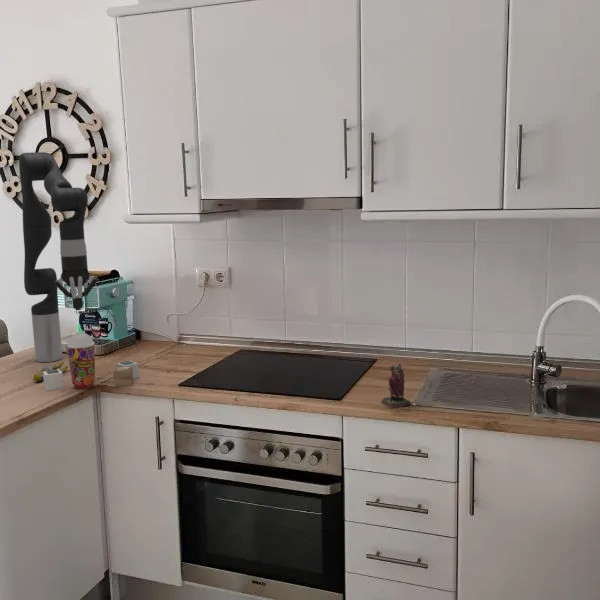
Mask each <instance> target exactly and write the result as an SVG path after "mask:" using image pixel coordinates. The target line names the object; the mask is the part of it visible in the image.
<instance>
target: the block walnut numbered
mask: <svg viewBox="0 0 600 600" xmlns="http://www.w3.org/2000/svg"><path fill="white" fill-rule="evenodd" d="M113 380H114V381H113V382H114V388H121V387H122V388H124V387H132V386H133V383H134V379H133V370H132V367H119V368H117V367H116V368H115V369H114V371H113Z"/></svg>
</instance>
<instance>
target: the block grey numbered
mask: <svg viewBox="0 0 600 600" xmlns="http://www.w3.org/2000/svg"><path fill="white" fill-rule="evenodd" d="M115 365H116V366H115V367H116V368H119V367H132V370H133V380H135V379H139V378H140V377H139V363H138V362H136V361H133V360H126V361H121V362H117V363H116V364H115Z"/></svg>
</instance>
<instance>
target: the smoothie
mask: <svg viewBox="0 0 600 600" xmlns="http://www.w3.org/2000/svg"><path fill="white" fill-rule="evenodd" d="M77 327H78V332H76V333H75V334H73V335H72V336H71V337H70V338H69V340H68V342H67V344H66V349H67V356H68V362H69V368H70V369H69V370H70V376H71V382H72V385H74V388H76V389H80V390H82V389H90V388H92V387H93V386H94V384H95V383H96V363H95V361H96V358H95V356H96V355H95V354H96V353H95V350H96V349H95V341H94V339H93V338H92V337H91V336H90V334H88V333H85V332H82V328H81V324H80V323H78V325H77Z"/></svg>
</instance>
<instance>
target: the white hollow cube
mask: <svg viewBox="0 0 600 600" xmlns="http://www.w3.org/2000/svg"><path fill="white" fill-rule="evenodd" d="M63 373H64V372H61V371H60V370H59V368H57V369H56V370H49V371H44V372H43V387H44V389H45V390H46V392H47V391H53V390H59V389H60V390H61V389H64V376H63V375H64V374H63Z"/></svg>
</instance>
